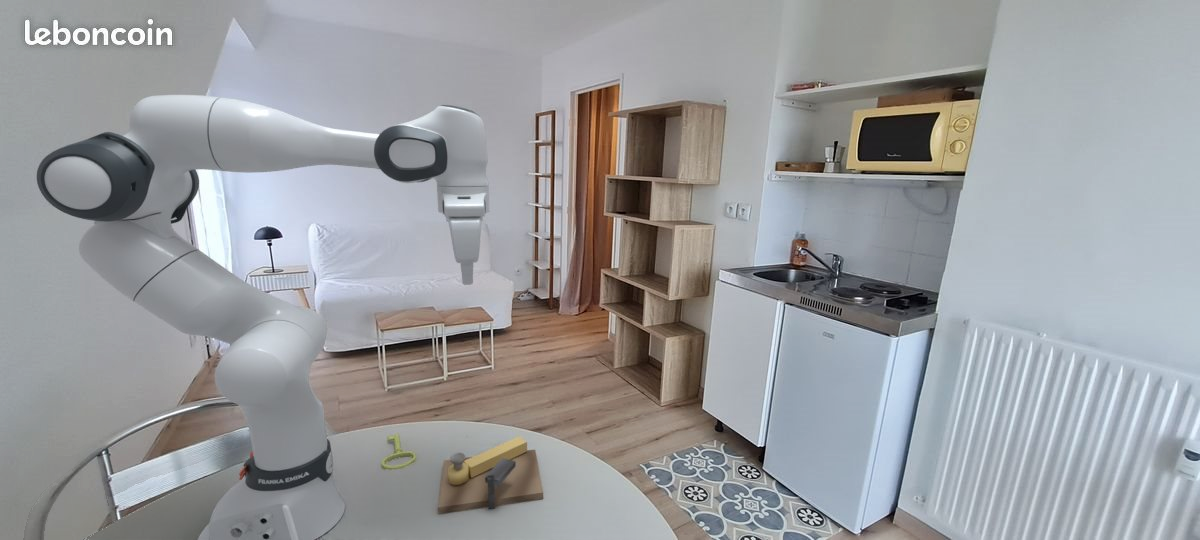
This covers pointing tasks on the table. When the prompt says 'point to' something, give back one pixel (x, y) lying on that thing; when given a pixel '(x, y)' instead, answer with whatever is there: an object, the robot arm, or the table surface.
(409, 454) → the key
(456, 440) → the table surface
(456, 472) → the link
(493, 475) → the board
